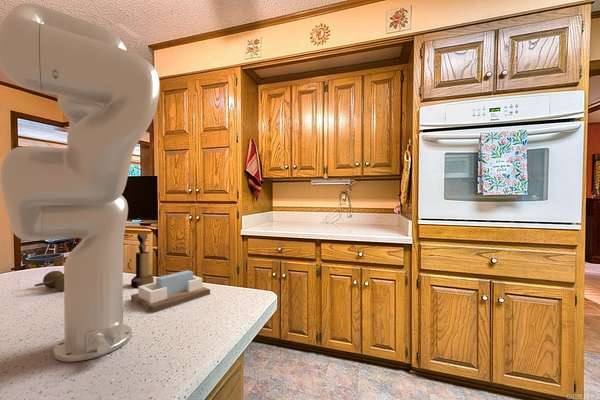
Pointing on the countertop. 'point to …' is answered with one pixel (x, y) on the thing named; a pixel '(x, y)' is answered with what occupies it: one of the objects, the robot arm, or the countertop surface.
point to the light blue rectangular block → (174, 281)
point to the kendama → (53, 280)
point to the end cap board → (171, 299)
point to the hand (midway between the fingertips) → (88, 210)
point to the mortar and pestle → (142, 264)
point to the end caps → (164, 290)
